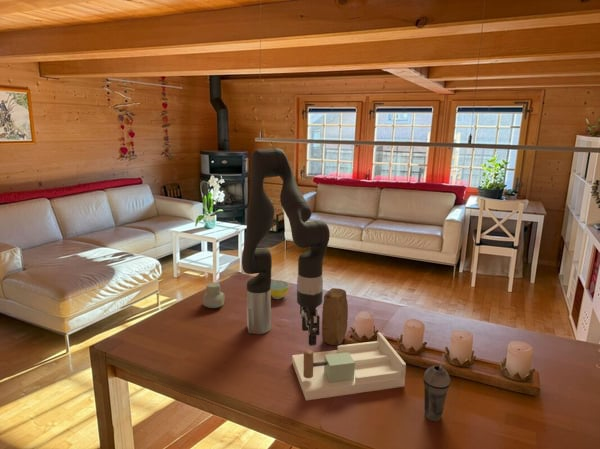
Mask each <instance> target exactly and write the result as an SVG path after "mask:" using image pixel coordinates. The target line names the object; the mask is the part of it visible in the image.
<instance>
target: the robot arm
mask: <svg viewBox="0 0 600 449" xmlns="http://www.w3.org/2000/svg"><path fill="white" fill-rule="evenodd" d="M275 177H276V178H277V177H279V178H280V179H281V180H282V186H281V191H280V194H279V198H280V199H279V200H280V201H279V202H280V205H281V207H282V210H283V211H284V213H285V215H286V216H287V218H288V221H289V225H290V230H291V238H292V241H293V243H294V245H296V246H297V247H299V248H302V249H304V248H309V249H307V251H305V252H303V253H301V254H300V255H299V256H298V259H297V260H298V261H297V267H298V268H297V280H296V303H297V304H298V305H299V314H300V315H301V316H300V318H301V331H303V332H306V331H308V332H307V334H308V346H309V347H310V346H316V345H317V336H320V321H321V320H320V315H319V313H318V309H317V308H318V307H319V306H321V305H323V297H324V295H323V294H324V293H323V290H324V288H323V287H324V279H323V264H324V263H323V261H324V259H325V255H326V251H327V247H328V245H329V241H330V234H331V233H330V228H329V226H328V224H327V223H326V222H325V221H324V220H313V221H311V220H310V219H311V217H312V210H311V207H310V206H309V203H308V202H307V201H306V199H305V198H304V195H303V194H302V192H301V190H300V187H299V186H298V183H297V180H296V177H295V175H294V172H293V169H292V166H291V163H290V162H289V159H288V156H287V154H286V153H285V151H284V150H283V149H282V148H278V147H272V148H257V149H255V150H254V151H253V152H252V154H251V158H250V180H249V181H250V188H249V190H250V191H249V202H248V208H247V216H246V217H247V218H246V232H245V239H244V245H243V249H242V250H243V251H242V256H241V266H242V267H241V268H242V270H243V272H244V273H245V274H248V275H253V274H256V275H255V276H254V277H252V278H250V279H249V280H248V281H247V283H246V328H247V331H248V334H254V335H264V334H267V333H269V332H270V331H271V329H272V308H271V307H272V300H271V299H272V296H271V281H272V264H273V262H272V261H273V259H272V253H271V251H270V249H269V248H266V247H264V248H263V247H262V248H257V247H258V245H259V244H260V243H261V241H262V240H263V239H264V238H265V237H266V236H267V234H268V233H270V231H271V229H272V228H273V225H274V220H275V219H274V216H275V206H274V204H273V202H272V200H271V198H270V197H269V196H268V195H267V193H266V191H265V188H264V181H265V178H267V179H268V178H275Z"/></svg>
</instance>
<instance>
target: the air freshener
mask: <svg viewBox="0 0 600 449" xmlns="http://www.w3.org/2000/svg"><path fill="white" fill-rule="evenodd" d="M225 295H226V294H225V293H224V292H222V291H221V284H220V283H219V282H214V281H213V282H210V283H207V285H206V292H205V294H204V295H203V299H202V305H203V306H204V307H206V308H208V309H217V308H220V307H222V306H224V303H225V300H226V299H225V298H226V296H225Z"/></svg>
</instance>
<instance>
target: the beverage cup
mask: <svg viewBox="0 0 600 449" xmlns="http://www.w3.org/2000/svg"><path fill="white" fill-rule="evenodd" d="M444 358H445V353H444V352H442V355H441V360H440V362H439V365H432V366H429V367H428V368H427V369H426V370H425V372H424V375H423V378H422V379H423V380H422V381H423V386H424V387H423V388H424V390H423V391H424V395H423V396H424V399H423V400H424V404H423V405H424V406H423V407H424V417H425V418H426V419H427V420H429V421H431V422H438V421H440V420H442V416H443V411H444V409H445V408H444V407H445V402H446V399H447V395H448V394H447V393H448V391H449V388H450V386H451V378H450V375H449V373H448V371H447V370H446V369H445V368H444V367H443V366H442V365H443V361H444Z"/></svg>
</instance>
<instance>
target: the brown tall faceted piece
mask: <svg viewBox="0 0 600 449" xmlns="http://www.w3.org/2000/svg"><path fill="white" fill-rule="evenodd" d="M348 308H349V306H348V298H347V290H345V289H343V288H335V287H332V288H331V289H329V290H328V291H327V292H326V293H325V294H324V295H323V302H322V313H321V338H322V341H323V343H325V344H327V345H331V346H339V345H342V343H343V342H344V340H343V338H344V339H345V337H346V334H347V330H348V319H349V318H348V317H349V311H348V310H349V309H348ZM342 341H343V342H342Z"/></svg>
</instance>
